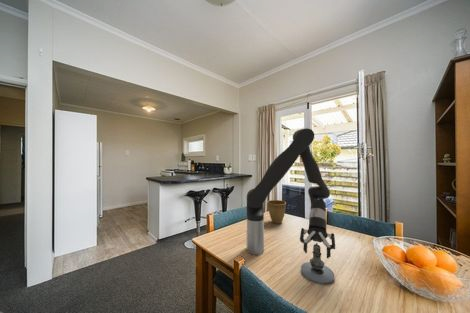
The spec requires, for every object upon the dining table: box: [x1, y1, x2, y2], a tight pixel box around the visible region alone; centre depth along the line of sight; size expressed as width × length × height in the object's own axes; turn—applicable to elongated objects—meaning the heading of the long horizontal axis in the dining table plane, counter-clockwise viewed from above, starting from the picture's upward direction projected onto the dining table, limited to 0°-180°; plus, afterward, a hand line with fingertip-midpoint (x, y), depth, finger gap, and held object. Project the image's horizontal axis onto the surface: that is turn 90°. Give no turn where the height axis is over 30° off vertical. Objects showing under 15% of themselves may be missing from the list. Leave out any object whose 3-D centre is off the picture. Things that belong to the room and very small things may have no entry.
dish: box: [300, 261, 335, 285], centre depth 75 cm, size 13×13×1 cm
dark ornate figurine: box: [309, 242, 325, 274], centre depth 75 cm, size 6×6×12 cm
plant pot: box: [266, 199, 287, 224], centre depth 138 cm, size 15×15×16 cm
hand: (316, 255), depth 74 cm, fingers open, 8 cm apart
